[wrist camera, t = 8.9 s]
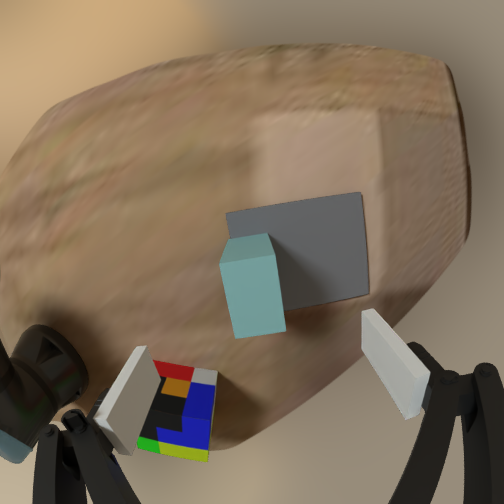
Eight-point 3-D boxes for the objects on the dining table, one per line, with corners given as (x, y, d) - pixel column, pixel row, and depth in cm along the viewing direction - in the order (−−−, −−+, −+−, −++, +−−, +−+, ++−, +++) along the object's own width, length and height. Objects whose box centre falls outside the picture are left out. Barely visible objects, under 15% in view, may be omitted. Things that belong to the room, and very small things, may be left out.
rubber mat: (246, 315, 35) (246, 317, 34) (225, 213, 32) (225, 213, 31) (366, 292, 34) (368, 293, 34) (358, 192, 31) (360, 192, 31)
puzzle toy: (217, 370, 37) (210, 420, 27) (213, 415, 40) (207, 462, 30) (150, 359, 37) (128, 403, 27) (154, 404, 39) (138, 448, 29)
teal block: (239, 295, 34) (235, 338, 24) (228, 239, 32) (219, 263, 22) (276, 289, 34) (286, 331, 24) (267, 232, 32) (275, 254, 22)
